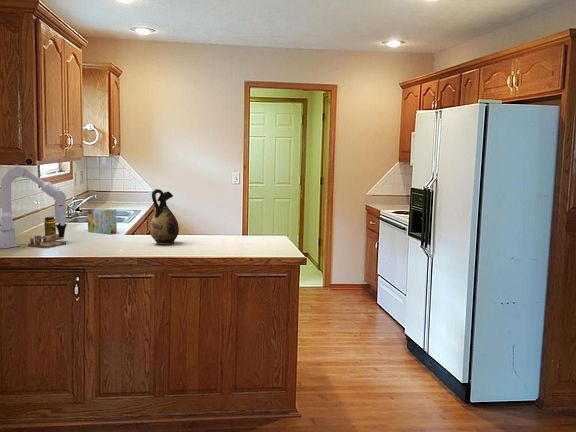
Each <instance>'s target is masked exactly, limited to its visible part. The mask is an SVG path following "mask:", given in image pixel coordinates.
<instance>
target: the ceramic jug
mask: <svg viewBox="0 0 576 432" xmlns="http://www.w3.org/2000/svg"><path fill="white" fill-rule="evenodd" d="M157 194H159V196H158V198H157V197H156V195H157ZM173 197H174V195H173V194H172V193H171V192H170V191H163V190H162V189H158V188H155V189H154V190H152V192H151V200H152V202H153V204H154V205H153V206H154V207H155V212H154V214H153V216H152V218H151V221H150V225H149V233H150V236H151V238H152V239H153V240H154V241H155V243H156V245H164V246H165V245H167V246H168V245H174V244H175V241H176V239H177V237H178V235H179V232H180V228H179V223H178V221H177V220H178V219H177V218H176V217H175V214H174V213H173V212H172V211H171V209H170V208H169V207H168V205H167V201H168V200H170V199H172V198H173ZM158 202H159V204H158Z"/></svg>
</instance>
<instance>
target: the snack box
mask: <svg viewBox="0 0 576 432" xmlns="http://www.w3.org/2000/svg"><path fill="white" fill-rule="evenodd" d="M86 211H87V212H86V213H87V230H88V231H87V232H88V233H95V234H104V235H105V234H106V235H116V234H118V233H117V232H118V231H117V229H118V227H117V208H116V209H115V208H114V209H113V208H100V207H99V208H98V207H88V208H87V209H86Z"/></svg>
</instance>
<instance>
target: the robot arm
mask: <svg viewBox="0 0 576 432" xmlns="http://www.w3.org/2000/svg"><path fill="white" fill-rule="evenodd" d="M21 177H23V178H27V179H29V180H31V181H32V182H33V183H36V184H37V185H38V186H40V187H41V191H43V192H44V193H45V194H47V196H49V197H51V198H53V200H54V205H53V206H54V220H55V223H56V224H55V225H56V230H57V234H59V236H60V237H64V238H65V233H66V228H67V226H68V225H67V222H69V219H67V206H66V205H67V204H66V199H67V196H66V194H65V192H63V191H62V190H61V189H60V188H58V187H56V186H55V185H53V183H52V182H50V181H46V182H45V181H44V180H42V179H41V178H40V177H39V176H37V175H36V174H35V173H33V172H32V171H31V170H29V169H27V168H25V167H23V166H22V165H20V166H13V165H12V166H10V167H9V168H8V169H7V170H6V172H5V173H4V174H3V176H2V177H1V179H0V181H1V219H0V227H1V228H0V249H7V248H13V247H20V244H17V242H16V229H15V228H14V226H15V222H14V221H13V215H12V214H13V213H12V183H13V182H14V181H15V180H16V179H18V178H21Z"/></svg>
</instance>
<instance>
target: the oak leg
mask: <svg viewBox="0 0 576 432" xmlns="http://www.w3.org/2000/svg"><path fill="white" fill-rule="evenodd" d="M44 236H45V235H44ZM53 240H56V241H60V240H65V236H64V237H60V236H59V233H56V234H55V235H50V236H45V241H47V242H48V241H53Z"/></svg>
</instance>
